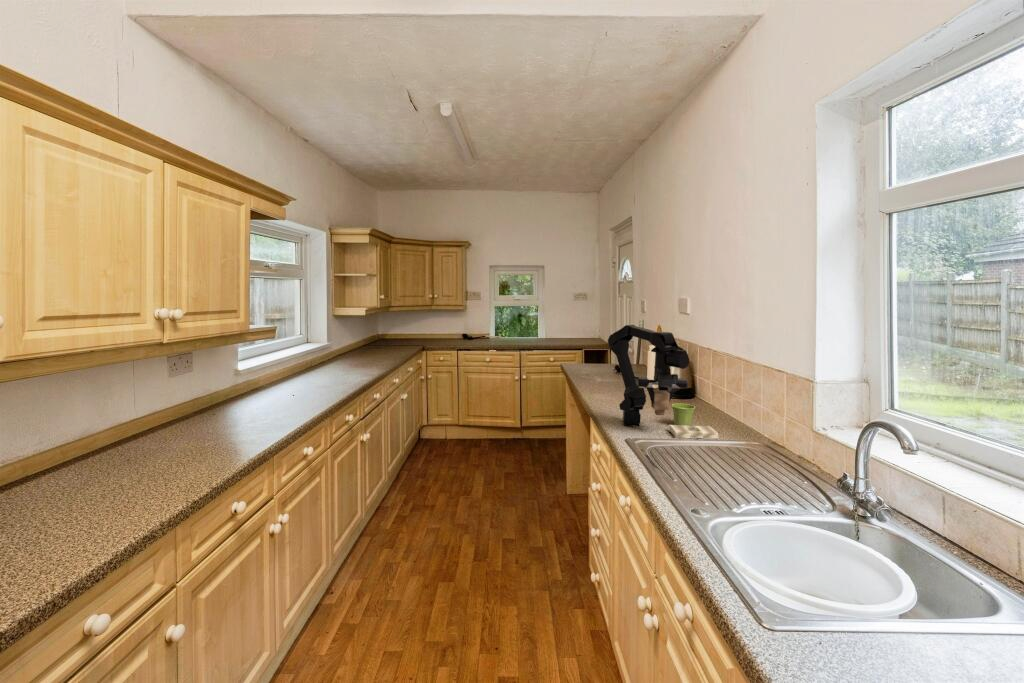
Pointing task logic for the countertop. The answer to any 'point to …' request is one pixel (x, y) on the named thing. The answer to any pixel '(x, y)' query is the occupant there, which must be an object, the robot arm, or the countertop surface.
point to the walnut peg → (660, 401)
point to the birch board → (692, 431)
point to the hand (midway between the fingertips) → (660, 404)
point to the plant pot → (682, 413)
